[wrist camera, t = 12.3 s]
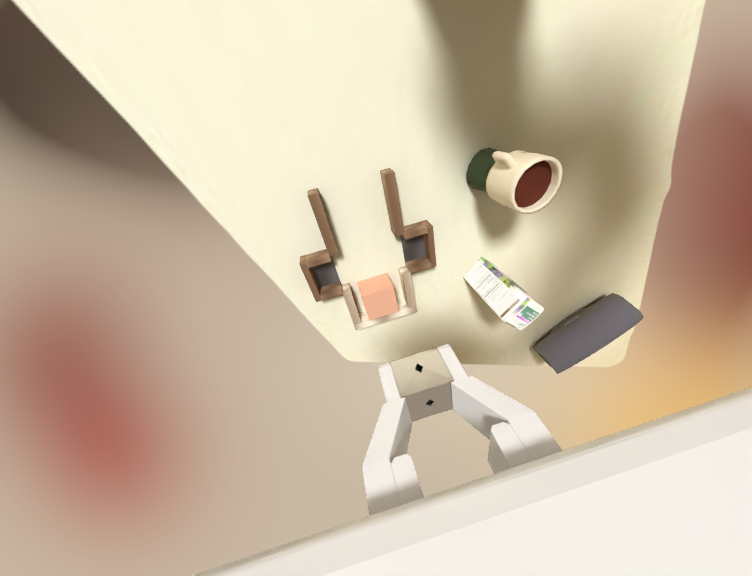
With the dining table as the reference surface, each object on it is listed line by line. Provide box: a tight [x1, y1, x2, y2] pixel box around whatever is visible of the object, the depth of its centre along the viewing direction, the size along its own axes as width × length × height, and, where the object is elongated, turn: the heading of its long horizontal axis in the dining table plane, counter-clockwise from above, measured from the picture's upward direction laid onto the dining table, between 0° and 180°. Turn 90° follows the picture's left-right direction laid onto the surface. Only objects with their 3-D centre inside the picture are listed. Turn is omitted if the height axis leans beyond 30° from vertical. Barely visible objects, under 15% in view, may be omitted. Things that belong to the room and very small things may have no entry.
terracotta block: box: [357, 273, 399, 321], centre depth 51 cm, size 6×6×5 cm
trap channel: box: [300, 168, 436, 330], centre depth 47 cm, size 23×28×3 cm
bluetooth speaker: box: [533, 293, 643, 374], centre depth 68 cm, size 23×9×10 cm, turn 133°
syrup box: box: [464, 257, 544, 331], centre depth 50 cm, size 6×6×14 cm
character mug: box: [467, 148, 563, 214], centre depth 39 cm, size 11×7×13 cm, turn 49°
